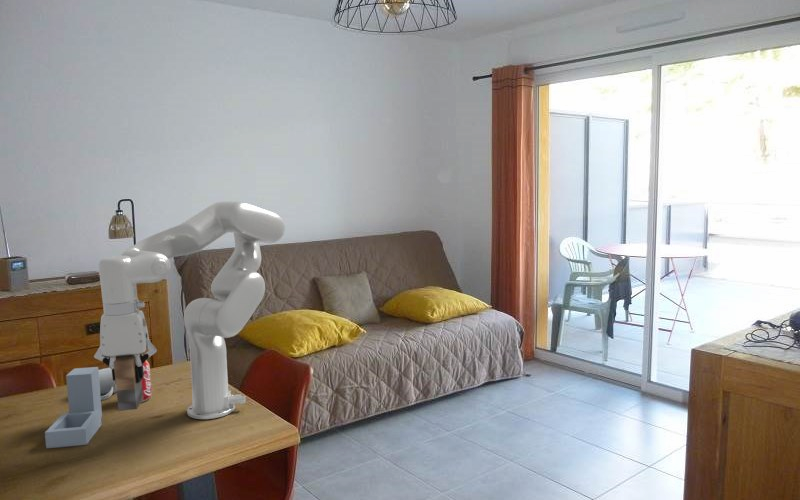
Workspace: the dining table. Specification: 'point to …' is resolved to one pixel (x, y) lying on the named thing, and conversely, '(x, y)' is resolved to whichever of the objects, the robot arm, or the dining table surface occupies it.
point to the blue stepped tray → (78, 410)
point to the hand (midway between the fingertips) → (128, 381)
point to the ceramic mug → (106, 383)
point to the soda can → (146, 382)
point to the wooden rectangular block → (127, 383)
